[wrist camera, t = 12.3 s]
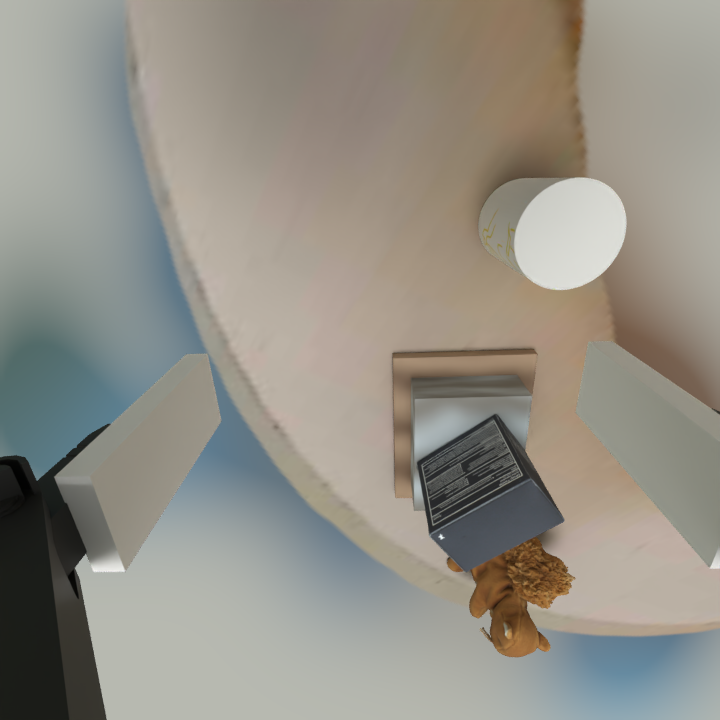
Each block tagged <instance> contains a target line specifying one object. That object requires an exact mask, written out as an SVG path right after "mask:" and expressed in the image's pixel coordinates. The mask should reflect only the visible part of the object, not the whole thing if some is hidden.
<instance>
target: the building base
mask: <svg viewBox="0 0 720 720" xmlns="http://www.w3.org/2000/svg"><path fill="white" fill-rule="evenodd" d="M537 356H538V354H537V353H536V352H535V351H534V350H533V349H521V350H488V351H455V352H423V353H393V401H394V460H395V498H413V505H414V511H425V505H424V500H423V495H422V489H421V483H420V477H419V472H418V470H417V462H418V461H420V460H422V459H423V458H425V457H426V456H428V455H430V454H431V453H433V452H435V451H436V450H438V449H439V448H441V447H443V446H444V445H446V444H448V443H449V442H451V441H453V440H454V439H456V438H457V437H459V436H461V435H462V434H464V433H465V432H467V431H469V430H470V429H472V428H474V427H475V426H477V425H479V424H480V423H482V422H483V421H485V420H487V419H488V418H490V417H492V416H493V415H495V414H496V415H498V416H499V417H500V418H501V420H502V421H503V422H504V423H505V425H506V426H507V428H508V429H509V430H510V431H511V433H512V434H513V435H514V437H515V438H516V439H517V441H518V442H519V443H520V444H521V446H522V447H523V448H524V450H525V448H526V440H527V432H528V425H529V417H530V410H531V402H532V394H533V386H534V378H535V371H536V363H537Z"/></svg>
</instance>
